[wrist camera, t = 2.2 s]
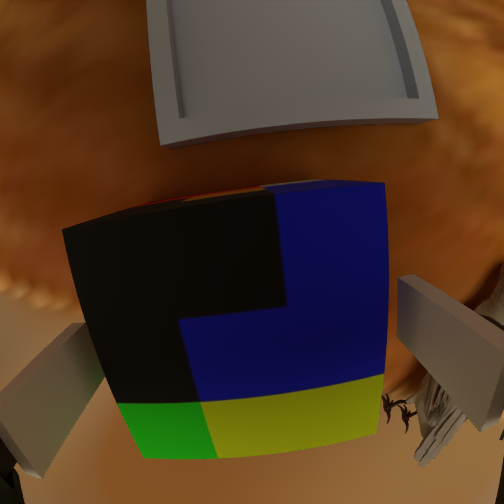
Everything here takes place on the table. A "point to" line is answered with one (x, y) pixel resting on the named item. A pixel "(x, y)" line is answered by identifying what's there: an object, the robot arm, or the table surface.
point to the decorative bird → (443, 395)
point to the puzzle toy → (240, 316)
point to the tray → (283, 67)
